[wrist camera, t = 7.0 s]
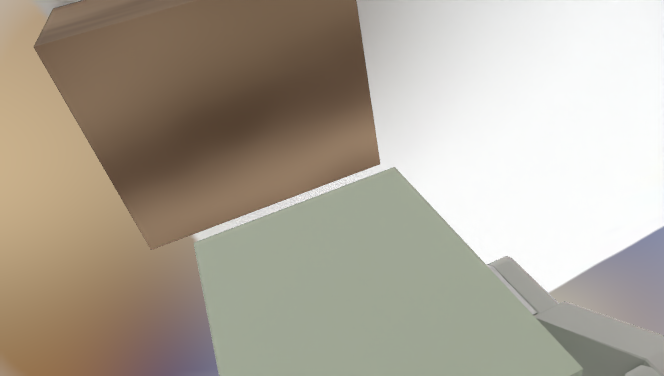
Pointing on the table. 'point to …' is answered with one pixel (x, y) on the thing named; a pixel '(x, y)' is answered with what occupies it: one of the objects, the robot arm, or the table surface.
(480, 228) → the table surface
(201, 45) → the walnut block
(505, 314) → the sage block
